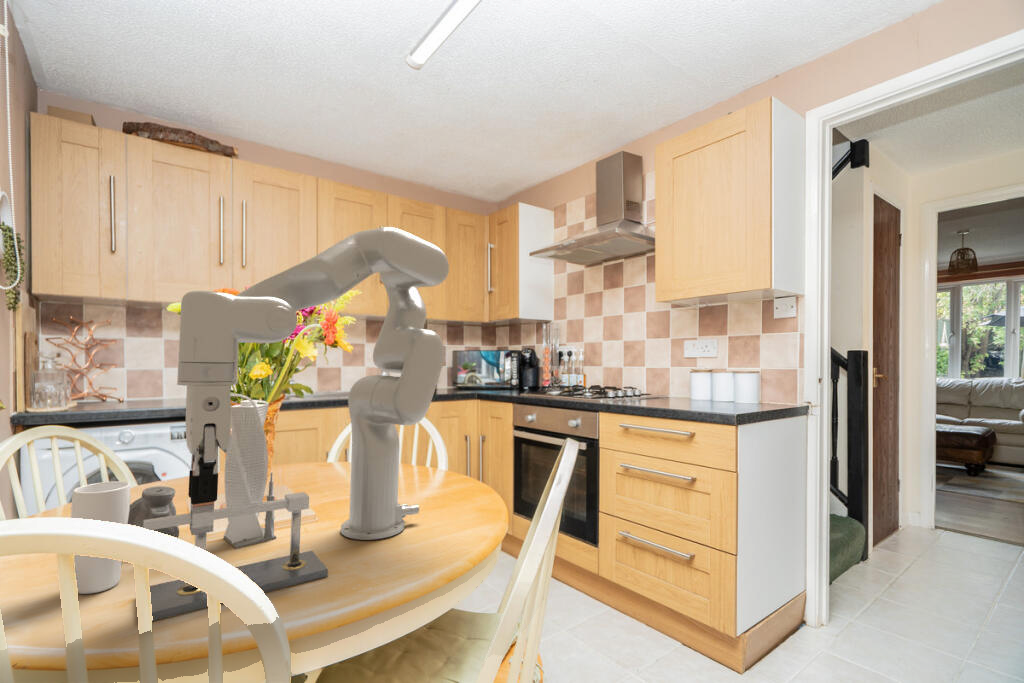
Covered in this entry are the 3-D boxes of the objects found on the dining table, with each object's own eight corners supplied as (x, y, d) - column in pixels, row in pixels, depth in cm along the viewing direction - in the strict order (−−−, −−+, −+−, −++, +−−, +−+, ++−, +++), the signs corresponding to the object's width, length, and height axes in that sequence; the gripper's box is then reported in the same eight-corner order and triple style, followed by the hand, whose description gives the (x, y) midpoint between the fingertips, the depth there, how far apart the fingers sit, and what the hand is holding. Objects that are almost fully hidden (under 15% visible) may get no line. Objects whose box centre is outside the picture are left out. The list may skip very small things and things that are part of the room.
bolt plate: (311, 557, 84) (312, 549, 84) (327, 576, 77) (327, 567, 77) (139, 596, 70) (139, 586, 70) (139, 624, 62) (139, 614, 62)
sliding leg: (207, 576, 72) (213, 458, 73) (210, 585, 70) (216, 463, 70) (187, 580, 71) (192, 460, 71) (189, 590, 68) (195, 465, 69)
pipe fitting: (118, 538, 90) (128, 484, 90) (170, 531, 95) (179, 480, 95) (125, 566, 81) (135, 506, 81) (182, 557, 87) (191, 501, 87)
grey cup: (137, 577, 75) (142, 481, 76) (101, 598, 69) (107, 493, 69) (93, 576, 75) (98, 480, 76) (53, 598, 68) (59, 492, 69)
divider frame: (301, 559, 80) (304, 491, 81) (306, 566, 78) (309, 496, 78) (139, 596, 67) (143, 515, 68) (139, 605, 65) (143, 521, 65)
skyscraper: (227, 550, 86) (234, 395, 87) (213, 538, 92) (219, 392, 93) (275, 538, 92) (281, 393, 93) (259, 527, 98) (265, 390, 99)
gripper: (246, 377, 67) (240, 509, 66) (229, 372, 80) (224, 483, 79) (181, 377, 62) (174, 519, 62) (174, 372, 75) (168, 490, 75)
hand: (202, 498), depth 71 cm, fingers closed on sliding leg, 3 cm apart
